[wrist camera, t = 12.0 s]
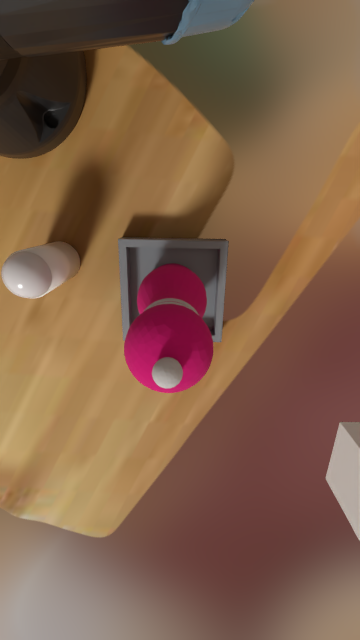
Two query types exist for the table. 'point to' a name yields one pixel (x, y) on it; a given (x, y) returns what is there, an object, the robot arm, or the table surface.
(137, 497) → the table surface
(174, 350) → the pepper mill
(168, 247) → the tray
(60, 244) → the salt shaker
